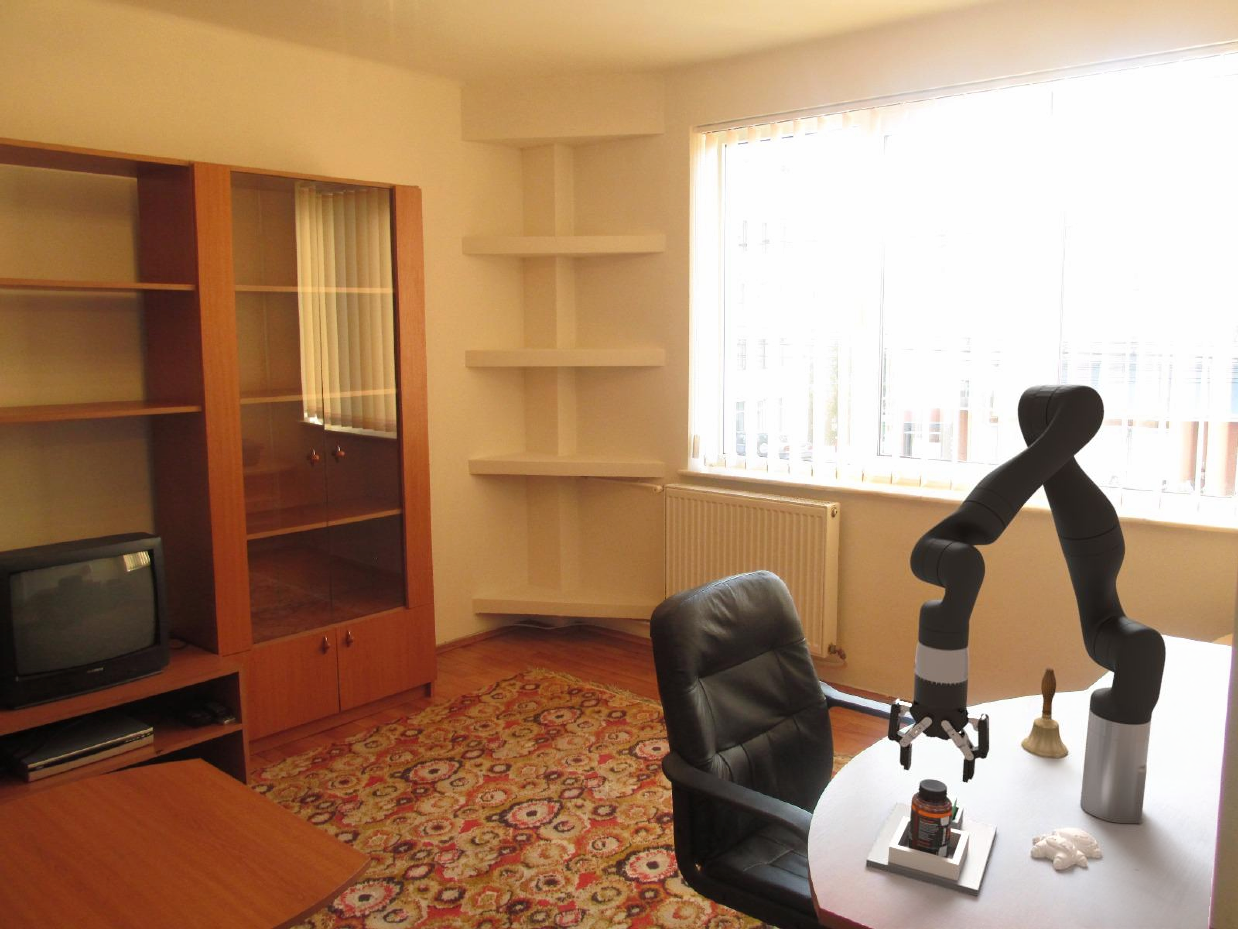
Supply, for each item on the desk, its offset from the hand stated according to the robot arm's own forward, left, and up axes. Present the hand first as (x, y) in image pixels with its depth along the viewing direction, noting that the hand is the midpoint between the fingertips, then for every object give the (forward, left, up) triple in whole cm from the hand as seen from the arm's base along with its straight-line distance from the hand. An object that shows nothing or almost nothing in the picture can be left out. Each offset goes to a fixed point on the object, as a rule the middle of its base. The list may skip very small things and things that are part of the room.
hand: (936, 774), depth 147 cm
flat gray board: (0, -4, -14) cm, 15 cm away
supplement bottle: (0, 0, -13) cm, 13 cm away
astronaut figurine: (-18, -13, -15) cm, 27 cm away
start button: (0, -10, -12) cm, 16 cm away
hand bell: (-12, -51, -15) cm, 54 cm away
